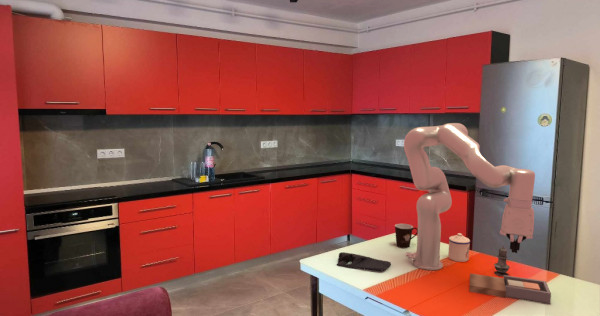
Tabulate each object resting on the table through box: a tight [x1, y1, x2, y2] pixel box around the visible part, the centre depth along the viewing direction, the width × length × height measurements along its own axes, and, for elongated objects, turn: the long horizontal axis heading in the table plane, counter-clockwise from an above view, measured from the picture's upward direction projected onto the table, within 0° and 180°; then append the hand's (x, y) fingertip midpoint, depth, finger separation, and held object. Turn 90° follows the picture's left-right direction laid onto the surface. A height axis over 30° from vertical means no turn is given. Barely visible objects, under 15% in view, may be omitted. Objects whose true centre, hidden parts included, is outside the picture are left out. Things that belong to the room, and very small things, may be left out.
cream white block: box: [507, 280, 524, 288], centre depth 152 cm, size 5×5×3 cm
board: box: [469, 273, 507, 298], centre depth 155 cm, size 12×12×2 cm
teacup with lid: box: [448, 232, 471, 263], centre depth 186 cm, size 12×9×12 cm
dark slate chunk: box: [336, 251, 392, 272], centre depth 178 cm, size 15×22×5 cm
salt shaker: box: [493, 245, 511, 278], centre depth 168 cm, size 6×6×12 cm
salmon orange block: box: [523, 282, 540, 291], centre depth 150 cm, size 5×5×3 cm
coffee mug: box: [394, 223, 418, 249], centre depth 201 cm, size 12×9×10 cm
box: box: [503, 275, 552, 305], centre depth 150 cm, size 14×11×4 cm
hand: (514, 251), depth 151 cm, fingers closed
